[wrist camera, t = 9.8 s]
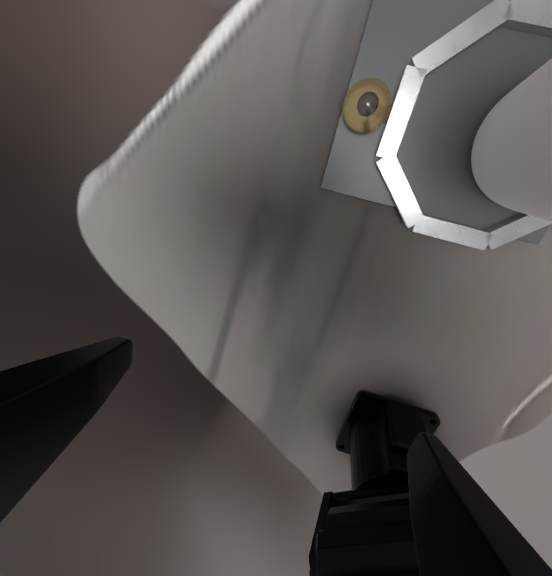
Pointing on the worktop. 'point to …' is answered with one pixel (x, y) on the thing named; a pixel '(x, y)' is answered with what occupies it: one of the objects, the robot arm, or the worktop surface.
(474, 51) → the carrier plate
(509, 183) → the can
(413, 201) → the socket
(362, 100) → the brass round knob
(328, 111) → the worktop surface
